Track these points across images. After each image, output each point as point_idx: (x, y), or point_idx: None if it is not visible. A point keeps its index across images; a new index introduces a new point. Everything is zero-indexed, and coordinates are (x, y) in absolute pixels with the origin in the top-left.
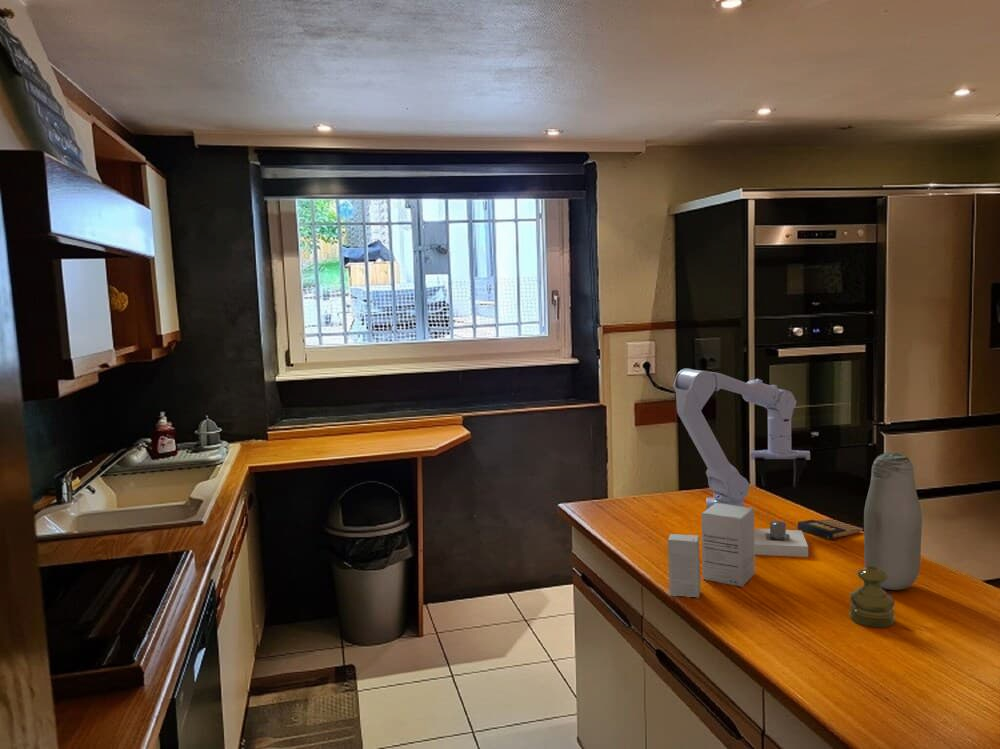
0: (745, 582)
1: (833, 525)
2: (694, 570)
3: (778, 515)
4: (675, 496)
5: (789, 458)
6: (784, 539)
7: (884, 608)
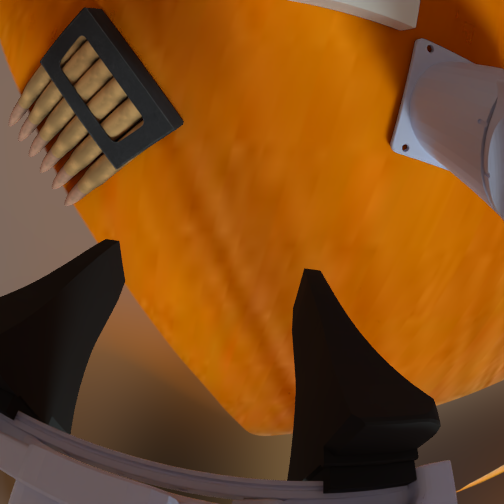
0: None
1: (63, 108)
2: None
3: (220, 277)
4: None
5: (62, 436)
6: None
7: None
